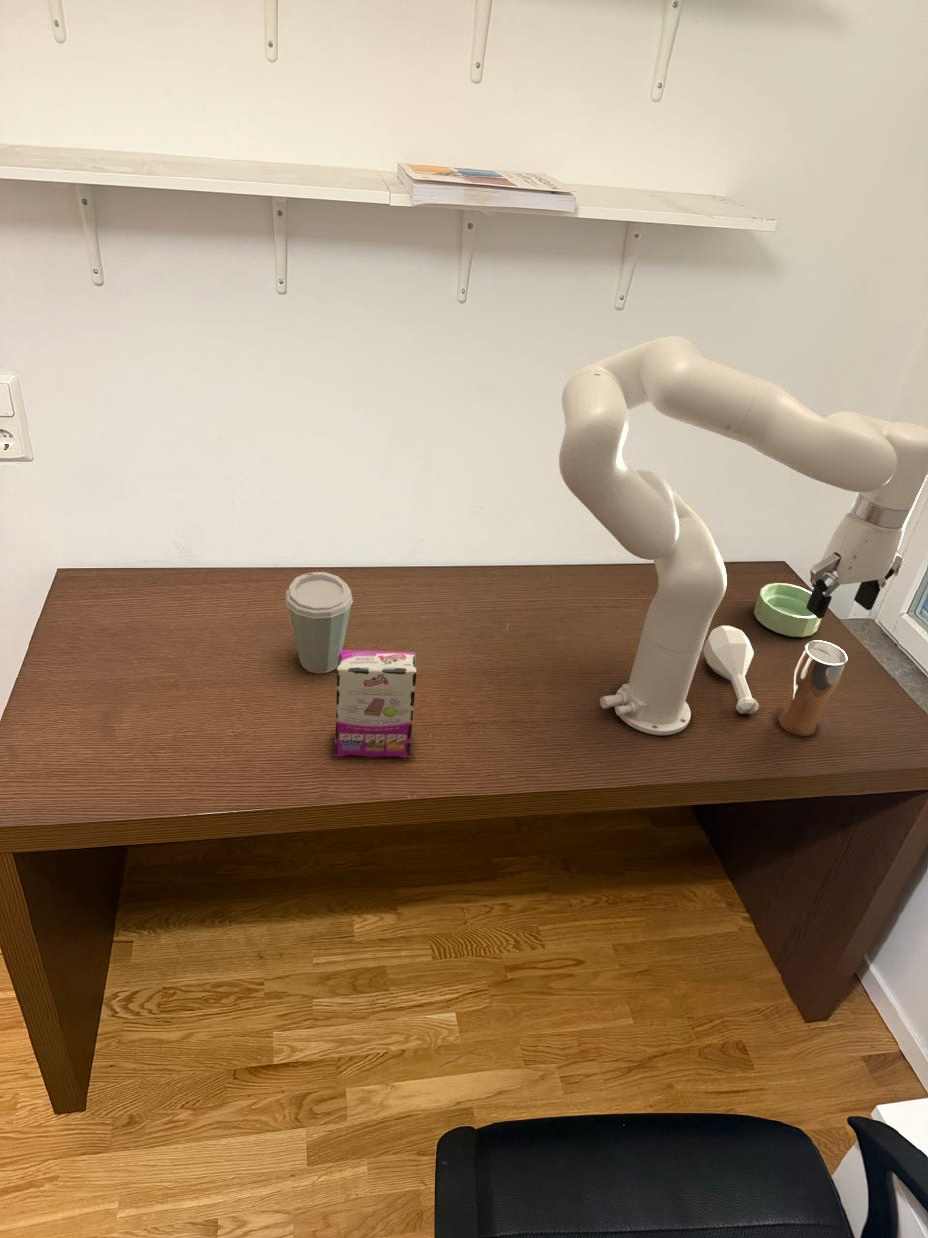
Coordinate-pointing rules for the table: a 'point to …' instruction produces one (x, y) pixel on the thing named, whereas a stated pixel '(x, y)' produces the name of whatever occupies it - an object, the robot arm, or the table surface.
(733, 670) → the chicken leg
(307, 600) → the disposable coffee cup
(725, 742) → the table surface
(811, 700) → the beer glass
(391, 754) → the candy bar box
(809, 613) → the sage bowl
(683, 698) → the robot arm
